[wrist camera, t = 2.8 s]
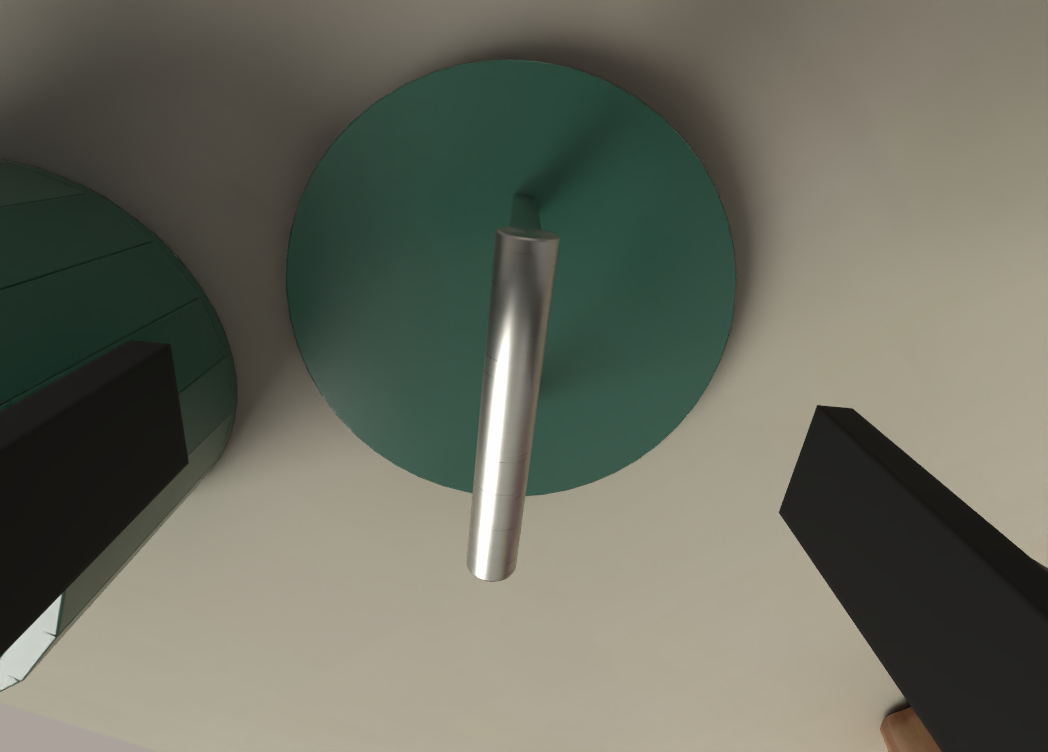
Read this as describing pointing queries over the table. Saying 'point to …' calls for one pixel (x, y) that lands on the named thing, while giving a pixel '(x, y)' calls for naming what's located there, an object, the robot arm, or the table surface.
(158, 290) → the lunch tin
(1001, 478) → the table surface
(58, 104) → the table surface
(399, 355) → the tin lid
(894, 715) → the cupcake
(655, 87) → the table surface
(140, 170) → the table surface
